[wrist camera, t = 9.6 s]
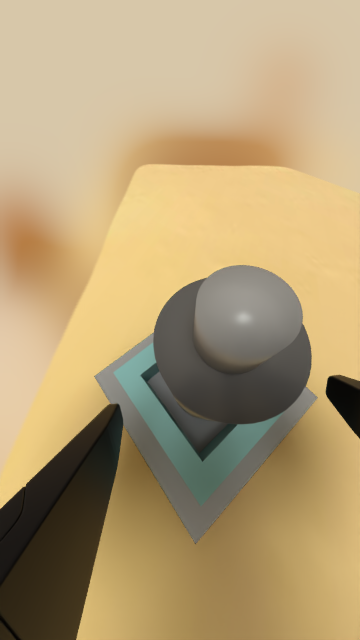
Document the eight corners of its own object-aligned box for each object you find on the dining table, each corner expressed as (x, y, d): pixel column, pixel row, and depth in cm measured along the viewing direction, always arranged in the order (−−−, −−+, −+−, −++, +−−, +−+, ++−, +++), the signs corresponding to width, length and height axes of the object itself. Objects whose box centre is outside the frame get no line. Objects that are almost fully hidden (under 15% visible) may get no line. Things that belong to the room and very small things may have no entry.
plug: (220, 429, 15) (372, 486, 3) (164, 403, 16) (96, 364, 4) (236, 371, 17) (366, 258, 5) (185, 351, 18) (186, 215, 6)
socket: (194, 535, 13) (198, 579, 10) (98, 378, 18) (77, 369, 15) (310, 398, 17) (343, 394, 14) (204, 299, 22) (208, 276, 19)
